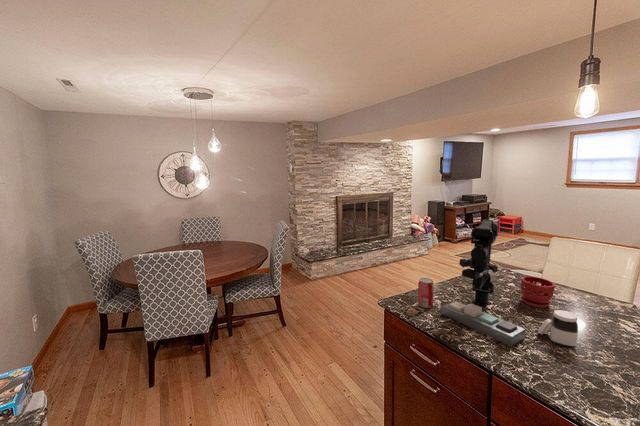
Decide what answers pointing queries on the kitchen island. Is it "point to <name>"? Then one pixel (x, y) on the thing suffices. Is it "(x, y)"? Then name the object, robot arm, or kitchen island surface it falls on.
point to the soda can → (425, 292)
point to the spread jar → (562, 329)
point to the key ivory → (457, 306)
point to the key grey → (473, 310)
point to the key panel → (484, 326)
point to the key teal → (488, 319)
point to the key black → (507, 326)
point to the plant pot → (536, 291)
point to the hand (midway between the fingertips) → (478, 288)
